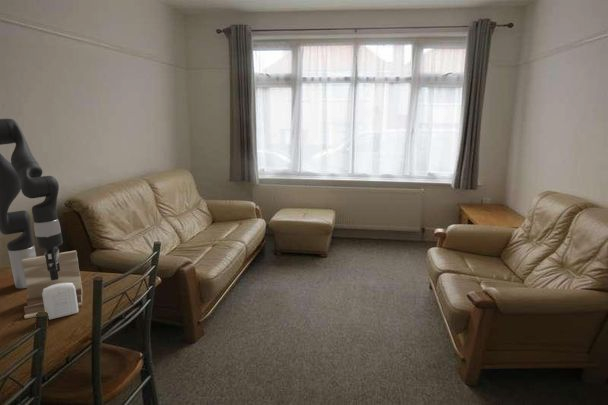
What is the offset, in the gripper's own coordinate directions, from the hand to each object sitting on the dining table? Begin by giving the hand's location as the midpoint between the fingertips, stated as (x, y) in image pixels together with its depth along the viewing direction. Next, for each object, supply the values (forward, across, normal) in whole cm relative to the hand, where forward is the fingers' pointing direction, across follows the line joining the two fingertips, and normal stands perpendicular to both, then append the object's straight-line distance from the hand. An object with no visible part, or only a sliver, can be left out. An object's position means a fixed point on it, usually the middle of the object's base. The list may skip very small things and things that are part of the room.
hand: (55, 275), depth 133 cm
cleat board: (+16, -12, -3) cm, 20 cm away
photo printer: (+16, 0, 0) cm, 16 cm away
